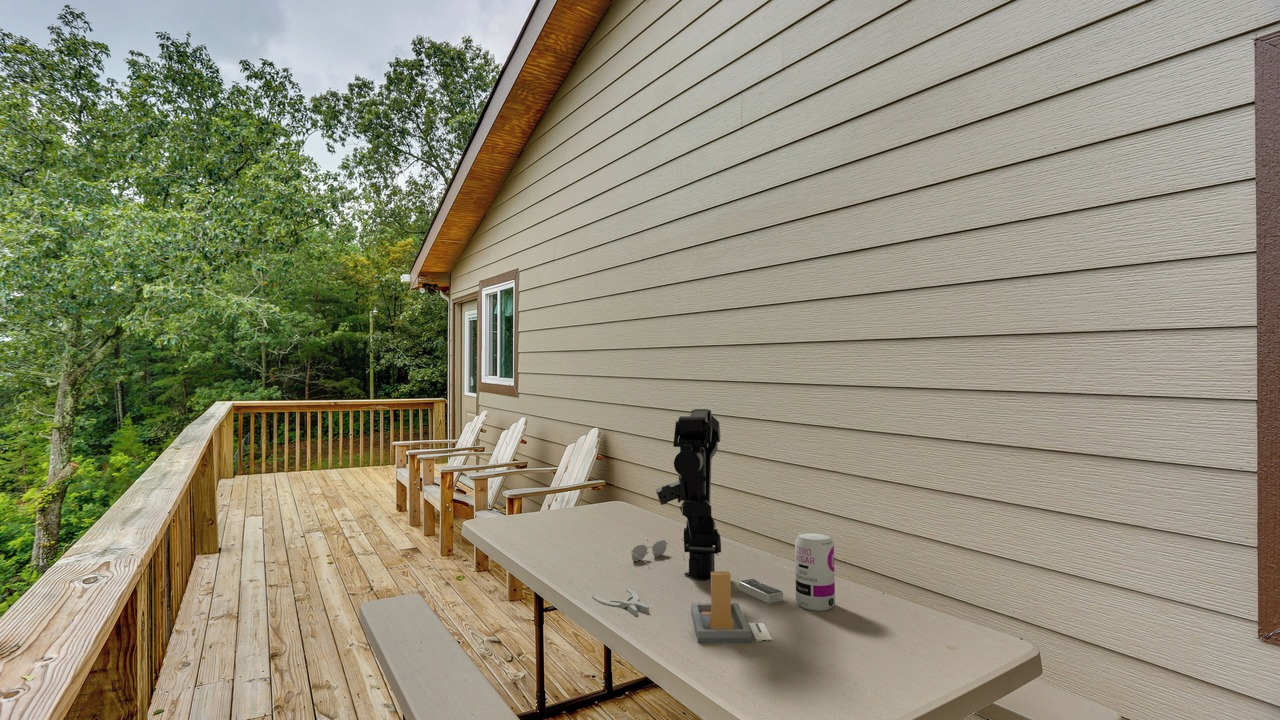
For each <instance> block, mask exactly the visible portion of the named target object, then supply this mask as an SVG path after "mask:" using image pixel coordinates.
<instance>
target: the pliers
mask: <svg viewBox="0 0 1280 720" xmlns="http://www.w3.org/2000/svg"><path fill="white" fill-rule="evenodd" d="M626 592H628V593H629V594H630V596H627V598H626V600H625V599H624V600H623V601H621V600H618V599H617V600H615V599H609V600H608V599H607V600H606V599H603V598H601V597H599V596H597V595H595V594H594V595H591V597H592V599H593V601H596V602H597V603H600V604H602V605H605V606H611V607H614V608H616V607H617V608H621V609H622V608H623V609H625V608H626V609H627V611H628V612H629V613H631V614H632V615H633V616H636V617H637V616H638V615H639V613H638V611H639V612H642V613H645V614H649V613H650V607H649V605H646V604H645V603H643V602H641V601H639V600H640V597H639V595H638V593H636V591H634V590H633V589H629V588H626Z"/></svg>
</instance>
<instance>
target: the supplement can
mask: <svg viewBox="0 0 1280 720" xmlns="http://www.w3.org/2000/svg"><path fill="white" fill-rule="evenodd" d="M794 551H795V552H794V558H795V559H794V564H795V566H794V567H795V601H796V603H797V604H798V605H799V606H800V607H801V608H803V609H806V610H809V611H813V612H814V611H815V612H824V611H829V610H831V609H832V608H833V607H834V606H835V605H836V587H835V586H836V585H835V583H836V582H835V580H836V579H835V578H836V577H835V576H836V575H835V542H834V541H833V540H832V537H831V535H829V534H827V533H822V532H813V531H811V532H810V531H809V532H805V531H804V532H800V533H798V535H797V538H796V539H795V540H794Z"/></svg>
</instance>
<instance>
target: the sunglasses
mask: <svg viewBox="0 0 1280 720" xmlns="http://www.w3.org/2000/svg"><path fill="white" fill-rule="evenodd" d="M667 545H669V546H671V547H672V548H674V549H675V550H676V551H678V552H679V553H680V554H681V555H682V556H683V561H686V560H685V559H686V558H685V555H684V554H683V552H681V551H679V550H678V549H677V548H676V547H674V546H673V545H672V544H671V543H669V542H667V541H666V540H665V539H661V540H658V541H655V543H654V544H653V545H652V546H648V547H647V546H646V545H645V544H639V545H636V546H634V547H633V549H632V550H630V553H631V560H632V562H633V563H635V562H634V561H636V562H638V561H637V560H640V561H642V562H644V563H646V565H647V566H648V569H649V570H651V568H650V565H649V563H648V562H647V561H645V560H644V558H645V557H646V556H648V554H649V553H650V552H649V551H648V549H649V548H651V552H652V555H653V557H654V558H656V557H655V556H657V557H660V556H659V555H661V556H664V554H665V553H666V550H667Z"/></svg>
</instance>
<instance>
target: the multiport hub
mask: <svg viewBox="0 0 1280 720" xmlns="http://www.w3.org/2000/svg"><path fill="white" fill-rule="evenodd" d="M738 590H739V592H740V591H741V592H742V593H745V594H747V595H749V596H751V597H754V598H755V599H757V598H758V600H760V601H761V602H764V601H765V602H764V603H766V602H767V603H766V604H769V603H771V604H774V603H773V602H775V603H779V602H778V601H780V602H783V601H784V591H782V590H780V589H777V588H776V587H773V586H771V585H769V584H766V583H764V582H762V581H760V580H757V579H755V578H749V579H744V580H740V581H738Z"/></svg>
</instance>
